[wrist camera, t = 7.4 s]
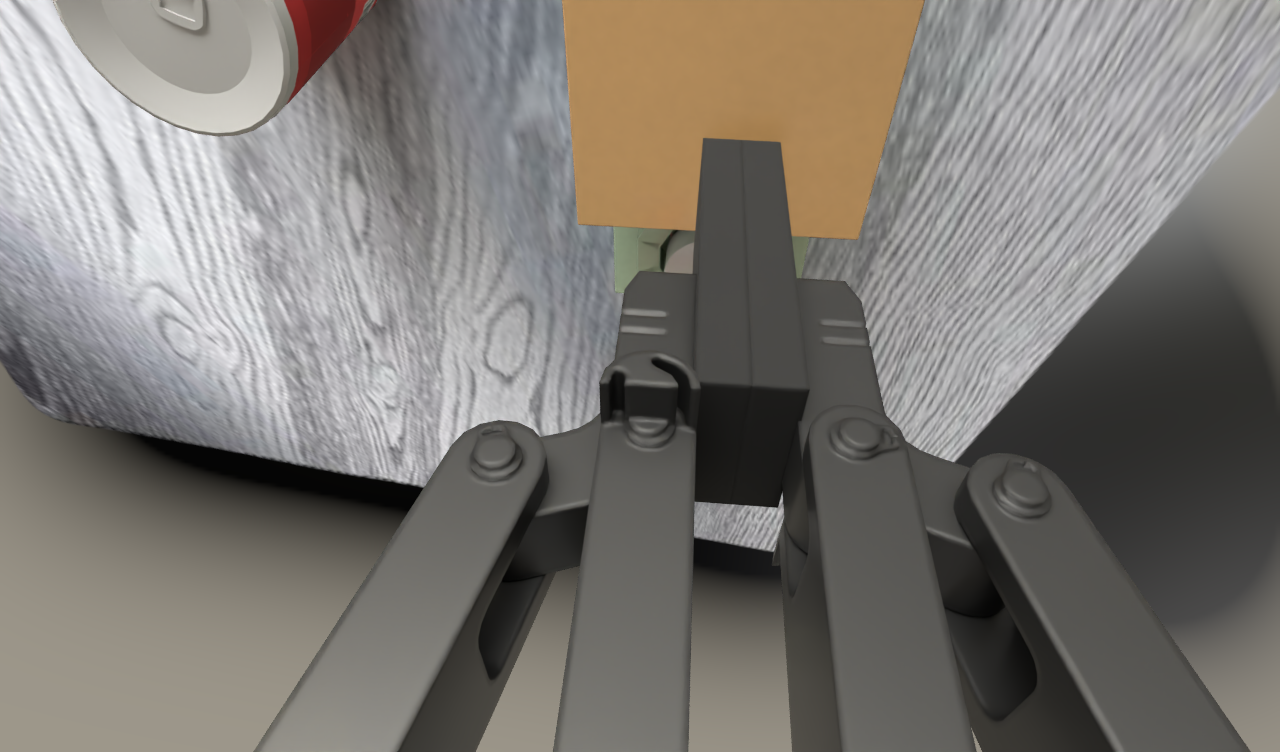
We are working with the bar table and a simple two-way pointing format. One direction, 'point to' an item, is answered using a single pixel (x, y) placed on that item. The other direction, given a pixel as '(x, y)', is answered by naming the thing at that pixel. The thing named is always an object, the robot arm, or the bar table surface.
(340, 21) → the canned food
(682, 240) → the flush button
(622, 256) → the green push button box
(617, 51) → the toilet lid
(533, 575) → the robot arm
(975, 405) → the bar table surface
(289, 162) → the bar table surface
